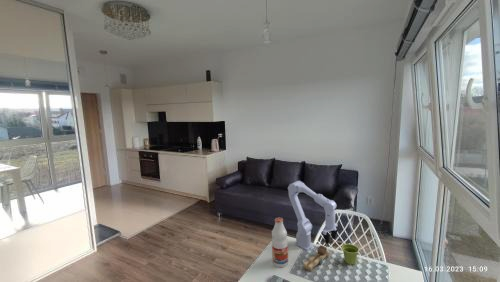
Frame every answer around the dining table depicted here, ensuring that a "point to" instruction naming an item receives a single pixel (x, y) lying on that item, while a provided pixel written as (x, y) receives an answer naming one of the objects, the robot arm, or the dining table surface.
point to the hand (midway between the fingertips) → (330, 240)
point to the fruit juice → (279, 244)
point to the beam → (314, 261)
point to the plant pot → (350, 253)
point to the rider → (321, 250)
